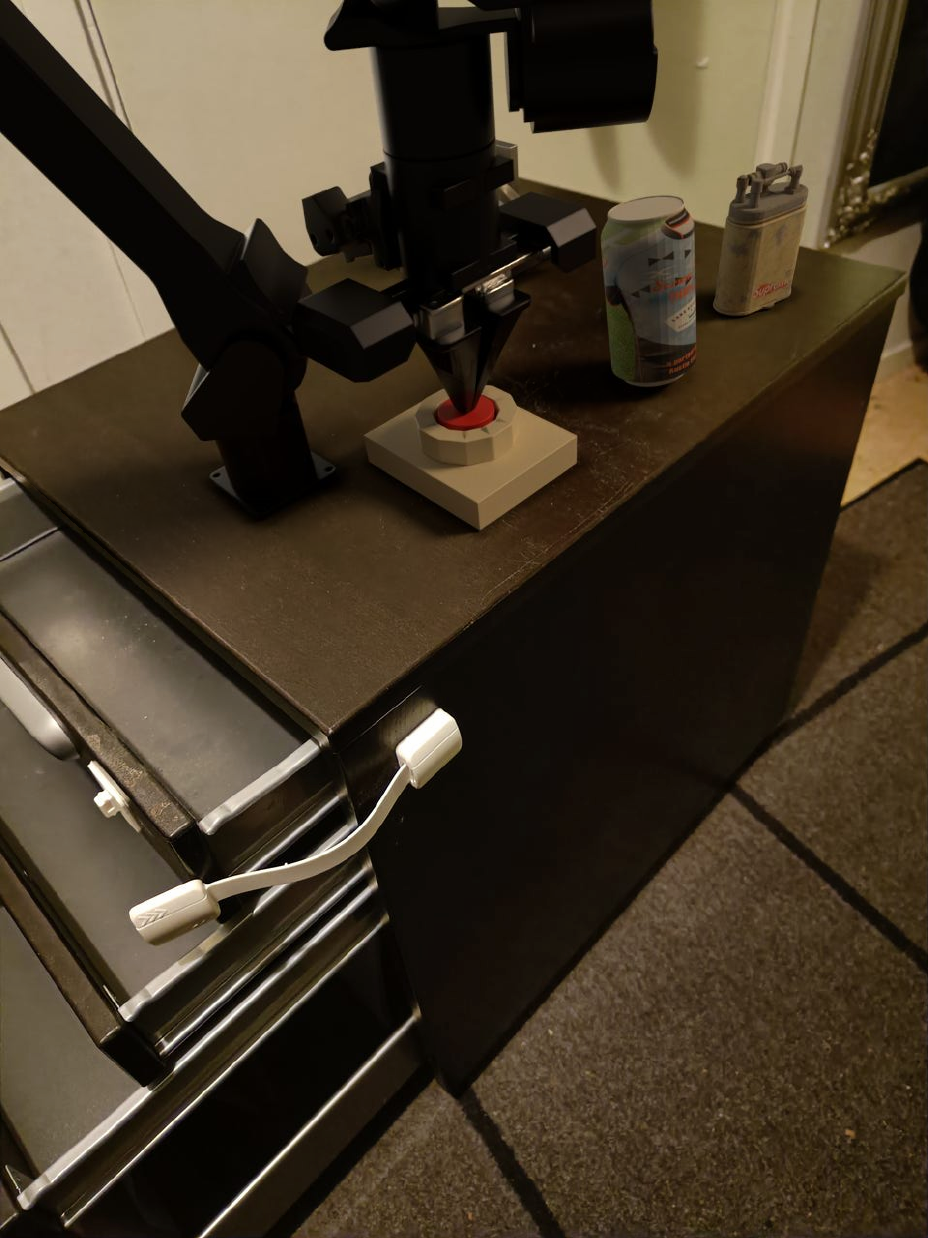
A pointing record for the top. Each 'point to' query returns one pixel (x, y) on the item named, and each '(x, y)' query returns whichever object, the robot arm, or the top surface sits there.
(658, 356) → the beverage can
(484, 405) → the button
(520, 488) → the button box
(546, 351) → the top surface
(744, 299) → the lighter
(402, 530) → the top surface
